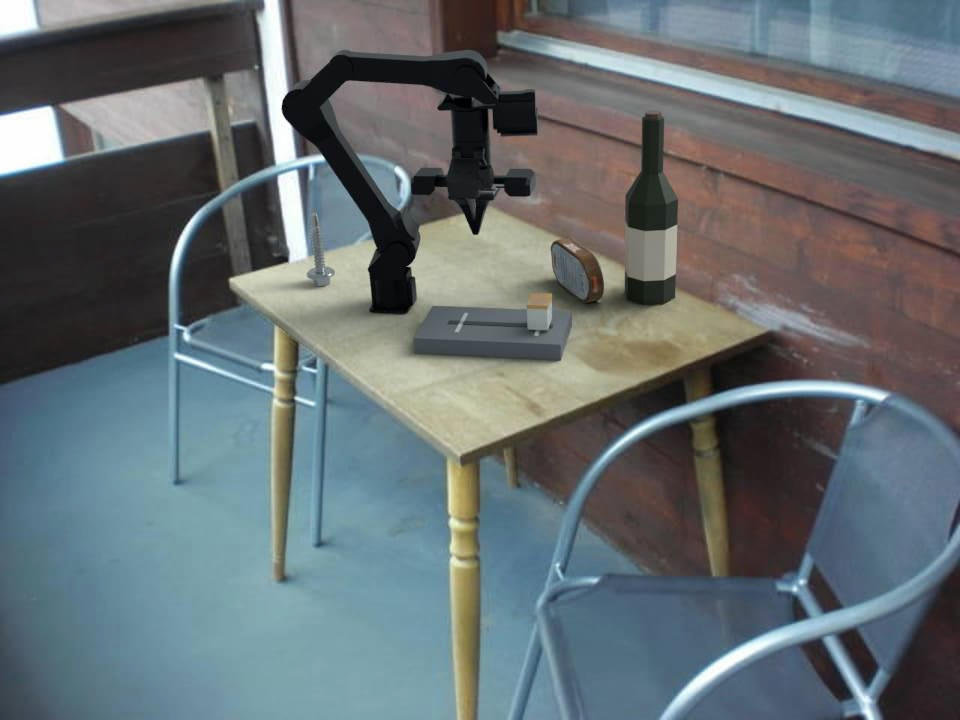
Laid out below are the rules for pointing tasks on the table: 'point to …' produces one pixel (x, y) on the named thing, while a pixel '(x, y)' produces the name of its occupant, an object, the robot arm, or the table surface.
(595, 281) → the tin
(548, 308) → the fader
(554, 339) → the fader board
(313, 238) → the screw
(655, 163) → the wine bottle
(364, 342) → the table surface
